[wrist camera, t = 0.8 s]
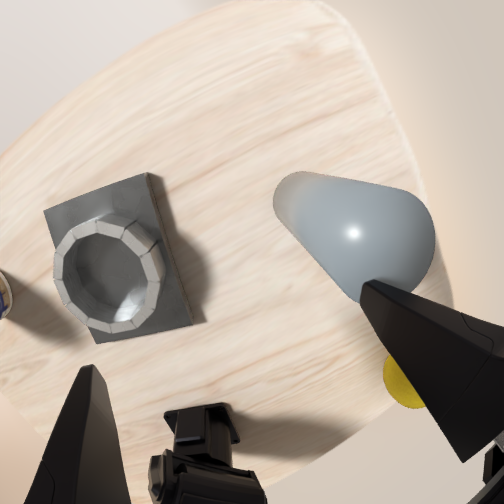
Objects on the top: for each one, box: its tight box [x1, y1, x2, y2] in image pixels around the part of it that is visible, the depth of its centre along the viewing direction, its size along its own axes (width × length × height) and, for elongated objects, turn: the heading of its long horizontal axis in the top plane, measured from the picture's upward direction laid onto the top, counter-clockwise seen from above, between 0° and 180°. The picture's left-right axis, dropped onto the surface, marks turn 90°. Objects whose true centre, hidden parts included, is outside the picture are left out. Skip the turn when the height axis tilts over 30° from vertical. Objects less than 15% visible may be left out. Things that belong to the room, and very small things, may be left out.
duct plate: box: [44, 172, 194, 344], centre depth 21 cm, size 12×9×4 cm
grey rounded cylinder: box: [273, 172, 435, 304], centre depth 17 cm, size 4×4×13 cm
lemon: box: [383, 355, 426, 409], centre depth 24 cm, size 6×6×8 cm
